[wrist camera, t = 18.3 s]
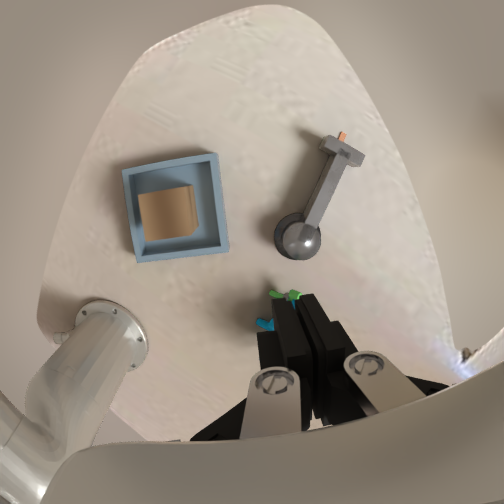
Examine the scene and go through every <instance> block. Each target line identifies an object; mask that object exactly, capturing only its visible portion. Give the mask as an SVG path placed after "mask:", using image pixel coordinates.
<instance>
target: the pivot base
mask: <svg viewBox="0 0 504 504" xmlns="http://www.w3.org/2000/svg"><path fill="white" fill-rule="evenodd" d="M345 137H346V134H345V133H343V132H341V134H340V137H339V140H340V141H342V142H343V141H344V139H345ZM302 215H303V214H302V213H295V214H291V215H288V216H286V217H285V218H283V219H282V220H281V221H280V222H279V224H278V225H277V227H276V230H275V234H274V241H275V245H276V247H277V249H278V251H279V252H280V253H281V254H282V255H283V256H285V257H287V258H289V259H292V260H296V259H294V258H292V257H291V256H290V255H289V254H288V253H287V251H286V250H285V248H284V247H283V245H282V242H281V234H282V231H283V229H284V228H285V226H286V225H287V224H289V223H290V222H292V221H295V220H300V219H301V217H302ZM317 231H318V232H319V234H320V237H321V233H320V228H319V226H318V227H317Z"/></svg>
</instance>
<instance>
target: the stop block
mask: <svg viewBox="0 0 504 504" xmlns="http://www.w3.org/2000/svg"><path fill="white" fill-rule="evenodd" d="M138 200H139V206H140V212H141V218H142V224H143V230H144V235H145V241H146V242H148V241H155V240H162V239H169V238H176V237H183V236H190V235H192V233H193V232H194V231H195V230H196V229H197V227H198V226H199V222H198V216H197V209H196V202H195V195H194V187H193V185H191V186H185V187H179V188H173V189H167V190H161V191H156V192H151V193H145V194H140V195H138Z"/></svg>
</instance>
